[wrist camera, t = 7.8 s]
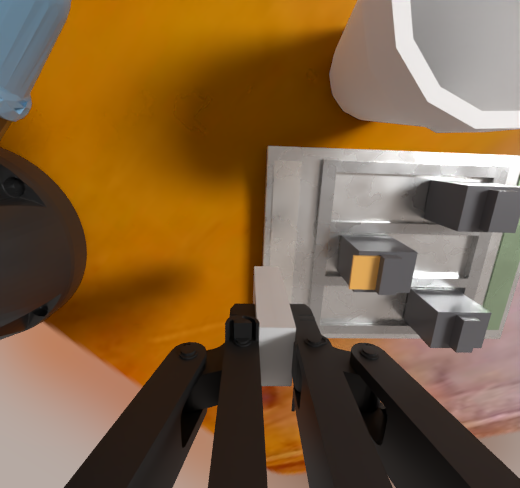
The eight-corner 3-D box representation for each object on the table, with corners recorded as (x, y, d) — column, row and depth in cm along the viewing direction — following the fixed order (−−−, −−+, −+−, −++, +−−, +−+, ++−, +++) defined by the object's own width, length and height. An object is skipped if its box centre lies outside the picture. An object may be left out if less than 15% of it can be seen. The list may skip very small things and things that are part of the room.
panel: (259, 328, 28) (260, 341, 26) (266, 146, 23) (268, 145, 21) (487, 329, 29) (505, 342, 27) (538, 156, 24) (564, 157, 22)
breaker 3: (403, 319, 26) (436, 354, 22) (409, 288, 25) (445, 318, 21) (447, 319, 27) (489, 354, 22) (455, 288, 26) (500, 318, 21)
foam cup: (457, 85, 22) (719, 4, 10) (356, 167, 24) (475, 183, 11) (390, -38, 20) (627, -345, 8) (282, 61, 21) (332, -63, 9)
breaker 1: (332, 270, 25) (351, 297, 20) (336, 235, 24) (357, 254, 19) (384, 271, 25) (415, 298, 20) (390, 236, 24) (424, 256, 19)
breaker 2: (423, 218, 24) (466, 234, 19) (431, 179, 23) (477, 186, 18) (472, 219, 24) (525, 236, 19) (481, 181, 23) (540, 189, 18)
